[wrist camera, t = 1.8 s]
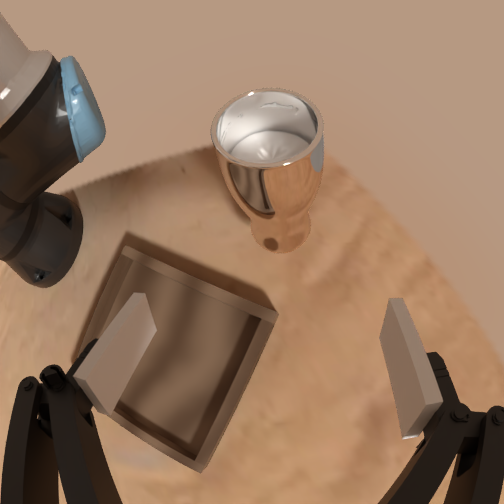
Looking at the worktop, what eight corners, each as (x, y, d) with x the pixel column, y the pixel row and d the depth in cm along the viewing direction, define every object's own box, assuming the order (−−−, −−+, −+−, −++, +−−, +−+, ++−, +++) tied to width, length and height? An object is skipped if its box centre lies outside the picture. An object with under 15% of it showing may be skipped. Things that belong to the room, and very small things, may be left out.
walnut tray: (79, 382, 31) (68, 383, 29) (134, 251, 36) (125, 244, 34) (207, 465, 26) (200, 473, 24) (278, 314, 31) (277, 312, 29)
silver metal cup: (295, 270, 28) (294, 191, 14) (234, 238, 30) (184, 147, 16) (326, 212, 29) (344, 105, 15) (267, 185, 31) (246, 76, 17)
